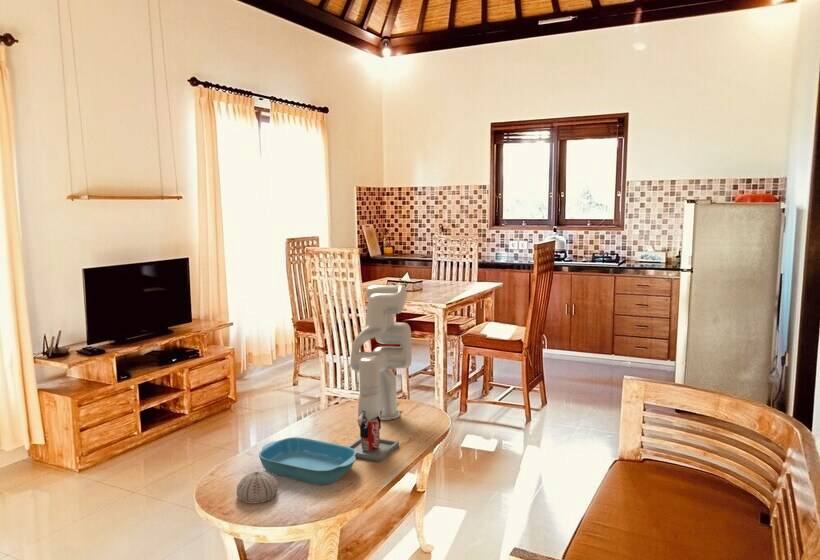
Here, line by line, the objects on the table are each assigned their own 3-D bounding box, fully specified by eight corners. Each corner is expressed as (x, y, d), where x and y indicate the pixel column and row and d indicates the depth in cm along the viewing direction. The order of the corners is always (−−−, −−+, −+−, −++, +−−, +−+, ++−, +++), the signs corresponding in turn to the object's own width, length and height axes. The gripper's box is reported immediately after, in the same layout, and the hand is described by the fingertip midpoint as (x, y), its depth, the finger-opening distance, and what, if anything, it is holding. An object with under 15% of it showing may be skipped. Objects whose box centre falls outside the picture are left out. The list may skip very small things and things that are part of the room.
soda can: (380, 445, 232) (380, 415, 230) (378, 453, 225) (377, 422, 223) (362, 445, 232) (362, 415, 231) (359, 452, 225) (359, 421, 224)
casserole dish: (368, 467, 215) (368, 448, 214) (334, 494, 195) (334, 473, 194) (286, 451, 231) (285, 433, 230) (246, 474, 211) (246, 454, 210)
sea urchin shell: (270, 507, 186) (269, 483, 185) (228, 505, 188) (227, 481, 187) (284, 488, 199) (283, 465, 198) (245, 486, 201) (244, 463, 200)
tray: (363, 440, 239) (363, 435, 239) (399, 446, 233) (398, 441, 232) (342, 455, 225) (342, 450, 225) (379, 462, 218) (379, 457, 218)
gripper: (372, 382, 235) (373, 424, 238) (349, 395, 220) (350, 439, 222) (388, 384, 232) (389, 426, 234) (366, 397, 217) (368, 442, 219)
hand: (370, 433), depth 228 cm, fingers open, 9 cm apart
